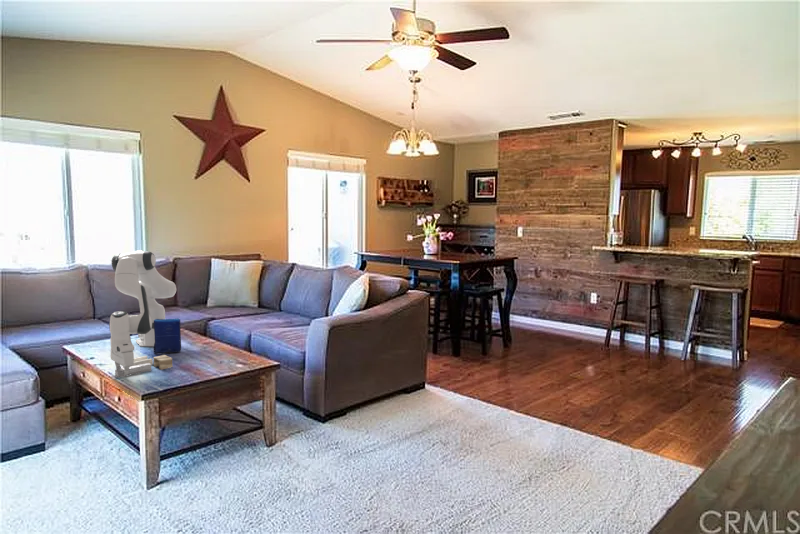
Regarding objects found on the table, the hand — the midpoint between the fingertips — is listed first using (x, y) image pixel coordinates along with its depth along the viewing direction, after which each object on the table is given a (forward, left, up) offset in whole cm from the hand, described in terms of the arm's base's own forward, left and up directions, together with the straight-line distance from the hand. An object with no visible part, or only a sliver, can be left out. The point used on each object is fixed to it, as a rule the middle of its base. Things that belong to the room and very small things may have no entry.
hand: (122, 372), depth 259 cm
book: (-24, +33, -2) cm, 41 cm away
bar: (0, +5, -2) cm, 6 cm away
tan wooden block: (0, +20, -2) cm, 20 cm away
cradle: (-12, +12, -2) cm, 17 cm away
